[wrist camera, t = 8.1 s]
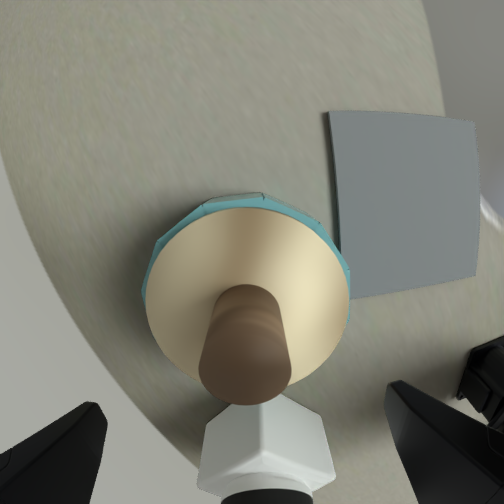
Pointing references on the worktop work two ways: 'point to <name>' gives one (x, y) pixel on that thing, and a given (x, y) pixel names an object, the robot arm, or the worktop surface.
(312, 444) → the medicine bottle
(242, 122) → the worktop surface
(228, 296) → the lid
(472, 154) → the mat
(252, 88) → the worktop surface
